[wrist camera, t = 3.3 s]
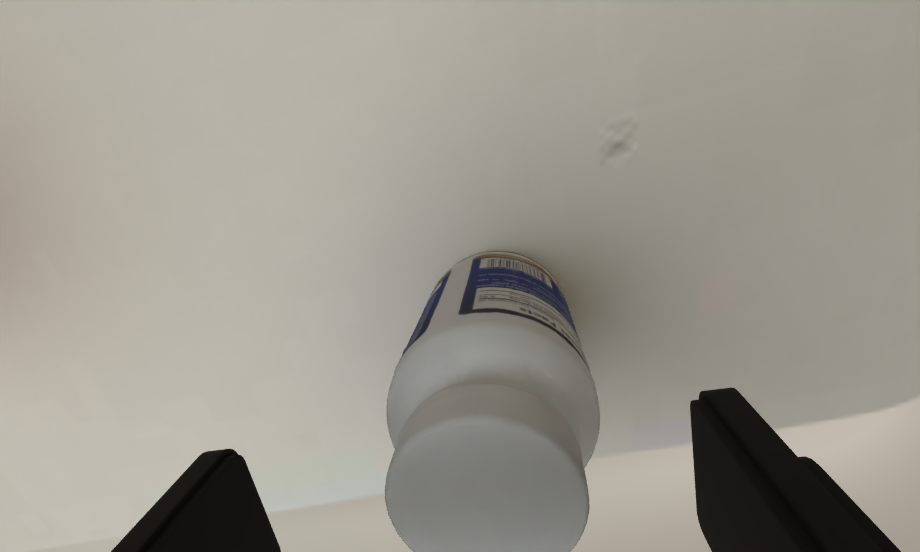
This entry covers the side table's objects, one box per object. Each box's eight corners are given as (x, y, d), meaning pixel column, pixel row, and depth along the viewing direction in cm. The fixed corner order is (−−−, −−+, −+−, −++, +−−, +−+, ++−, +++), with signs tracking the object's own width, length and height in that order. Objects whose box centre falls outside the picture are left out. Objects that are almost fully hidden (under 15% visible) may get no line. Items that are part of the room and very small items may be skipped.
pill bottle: (474, 395, 19) (442, 640, 10) (404, 290, 18) (295, 456, 9) (592, 338, 18) (680, 560, 9) (524, 221, 17) (542, 333, 8)
